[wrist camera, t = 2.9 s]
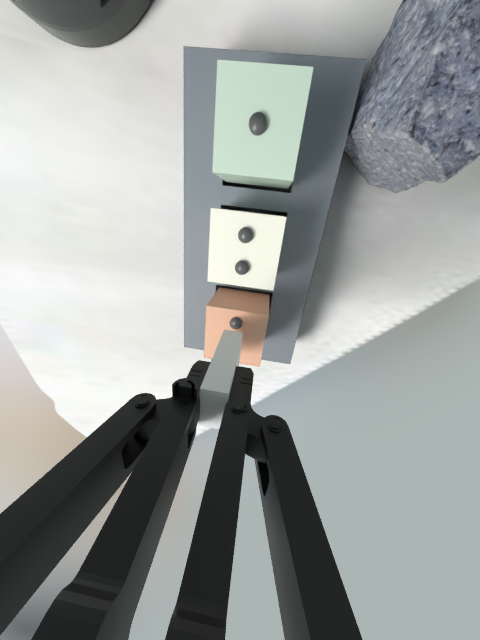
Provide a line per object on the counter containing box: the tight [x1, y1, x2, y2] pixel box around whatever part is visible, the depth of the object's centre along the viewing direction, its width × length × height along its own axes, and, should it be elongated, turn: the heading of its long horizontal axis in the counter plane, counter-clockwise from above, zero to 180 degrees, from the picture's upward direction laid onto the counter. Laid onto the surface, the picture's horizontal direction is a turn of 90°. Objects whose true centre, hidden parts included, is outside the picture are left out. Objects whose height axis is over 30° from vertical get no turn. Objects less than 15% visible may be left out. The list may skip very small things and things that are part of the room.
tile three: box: [204, 287, 270, 367], centre depth 21 cm, size 5×5×5 cm
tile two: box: [207, 208, 287, 291], centre depth 18 cm, size 5×5×5 cm
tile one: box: [212, 60, 314, 189], centre depth 15 cm, size 5×5×5 cm
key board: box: [184, 46, 367, 364], centre depth 22 cm, size 24×12×4 cm, turn 174°
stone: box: [344, 0, 480, 193], centre depth 15 cm, size 12×10×10 cm
